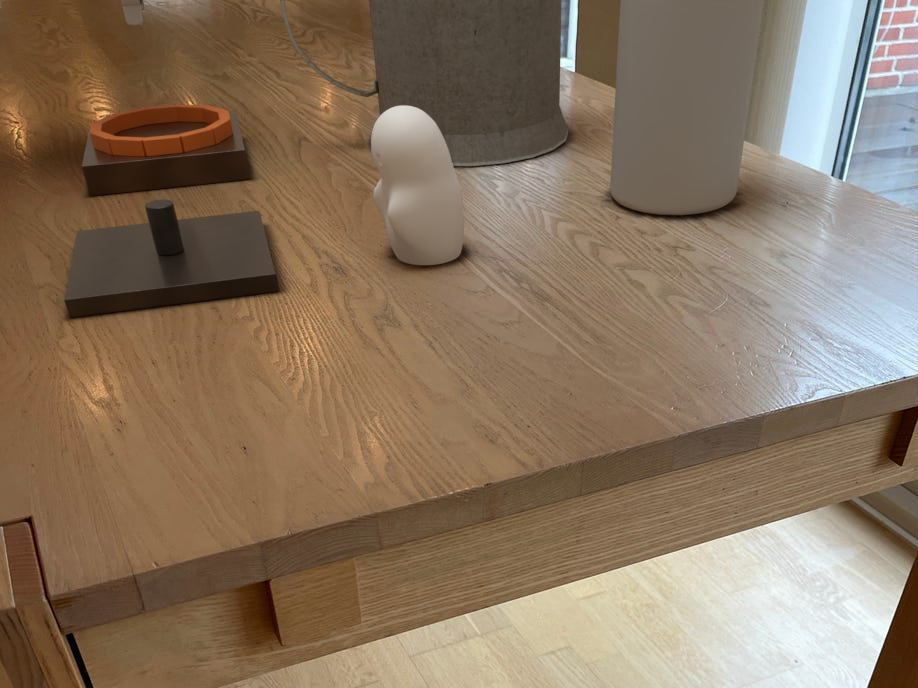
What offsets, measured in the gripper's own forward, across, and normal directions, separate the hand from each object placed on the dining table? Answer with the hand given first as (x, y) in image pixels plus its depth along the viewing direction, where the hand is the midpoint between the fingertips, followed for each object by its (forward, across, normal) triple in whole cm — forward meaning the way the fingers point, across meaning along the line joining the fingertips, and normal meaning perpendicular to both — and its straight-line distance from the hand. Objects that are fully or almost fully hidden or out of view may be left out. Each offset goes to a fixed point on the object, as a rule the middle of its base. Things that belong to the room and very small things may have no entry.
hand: (136, 17), depth 105 cm
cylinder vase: (+13, +37, +50) cm, 63 cm away
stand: (+14, +7, 0) cm, 15 cm away
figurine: (+14, +44, +22) cm, 51 cm away
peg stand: (+14, +40, 0) cm, 42 cm away
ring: (+11, +7, 0) cm, 12 cm away
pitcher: (+13, +8, +32) cm, 35 cm away
